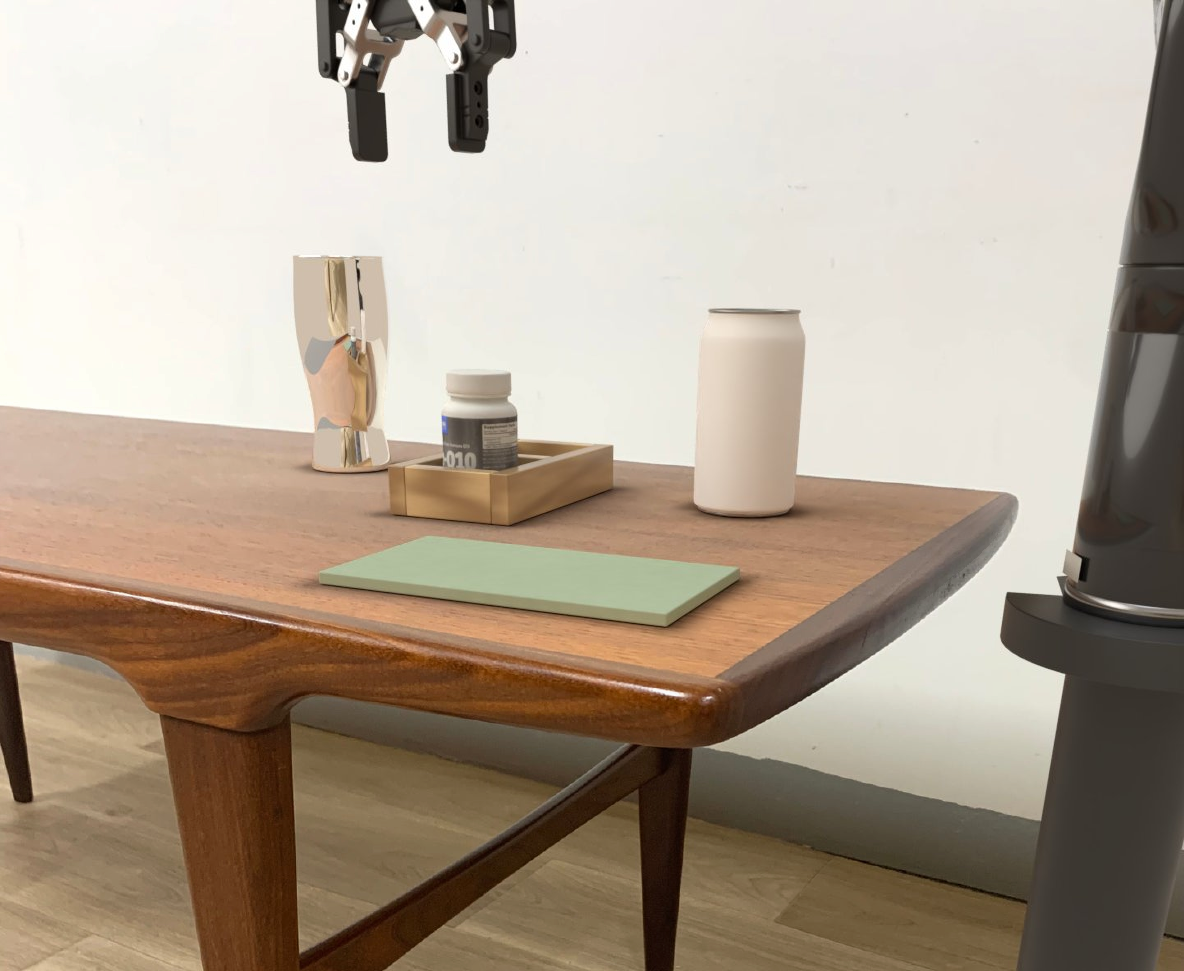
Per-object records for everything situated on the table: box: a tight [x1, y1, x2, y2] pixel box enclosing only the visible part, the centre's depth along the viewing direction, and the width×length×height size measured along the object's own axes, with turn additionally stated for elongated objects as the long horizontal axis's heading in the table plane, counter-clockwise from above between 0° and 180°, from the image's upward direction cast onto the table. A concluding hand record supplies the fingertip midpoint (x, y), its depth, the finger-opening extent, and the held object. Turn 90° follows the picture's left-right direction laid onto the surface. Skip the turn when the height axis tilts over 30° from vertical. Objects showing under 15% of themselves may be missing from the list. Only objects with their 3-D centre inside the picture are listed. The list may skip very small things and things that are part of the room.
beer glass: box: [291, 254, 393, 474], centre depth 92 cm, size 7×7×15 cm
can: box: [693, 307, 806, 518], centre depth 76 cm, size 6×6×12 cm
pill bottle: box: [441, 368, 519, 471], centre depth 76 cm, size 5×5×8 cm
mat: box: [318, 535, 741, 628], centre depth 59 cm, size 18×10×1 cm, turn 65°
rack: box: [387, 438, 614, 527], centre depth 80 cm, size 8×16×3 cm, turn 156°
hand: (417, 157), depth 71 cm, fingers open, 8 cm apart
